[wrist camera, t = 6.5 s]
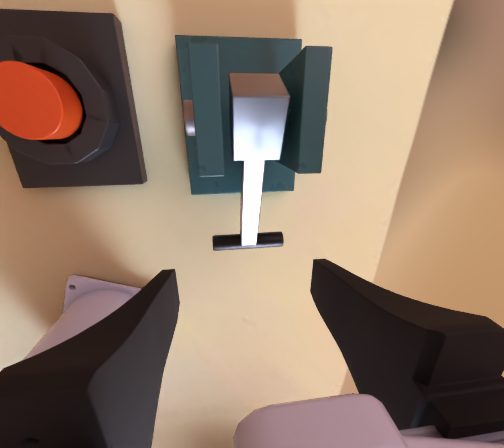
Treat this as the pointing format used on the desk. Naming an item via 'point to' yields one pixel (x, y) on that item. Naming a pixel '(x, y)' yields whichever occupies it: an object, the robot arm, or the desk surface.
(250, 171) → the lever
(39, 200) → the desk surface
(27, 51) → the control block
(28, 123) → the button
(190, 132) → the bracket
